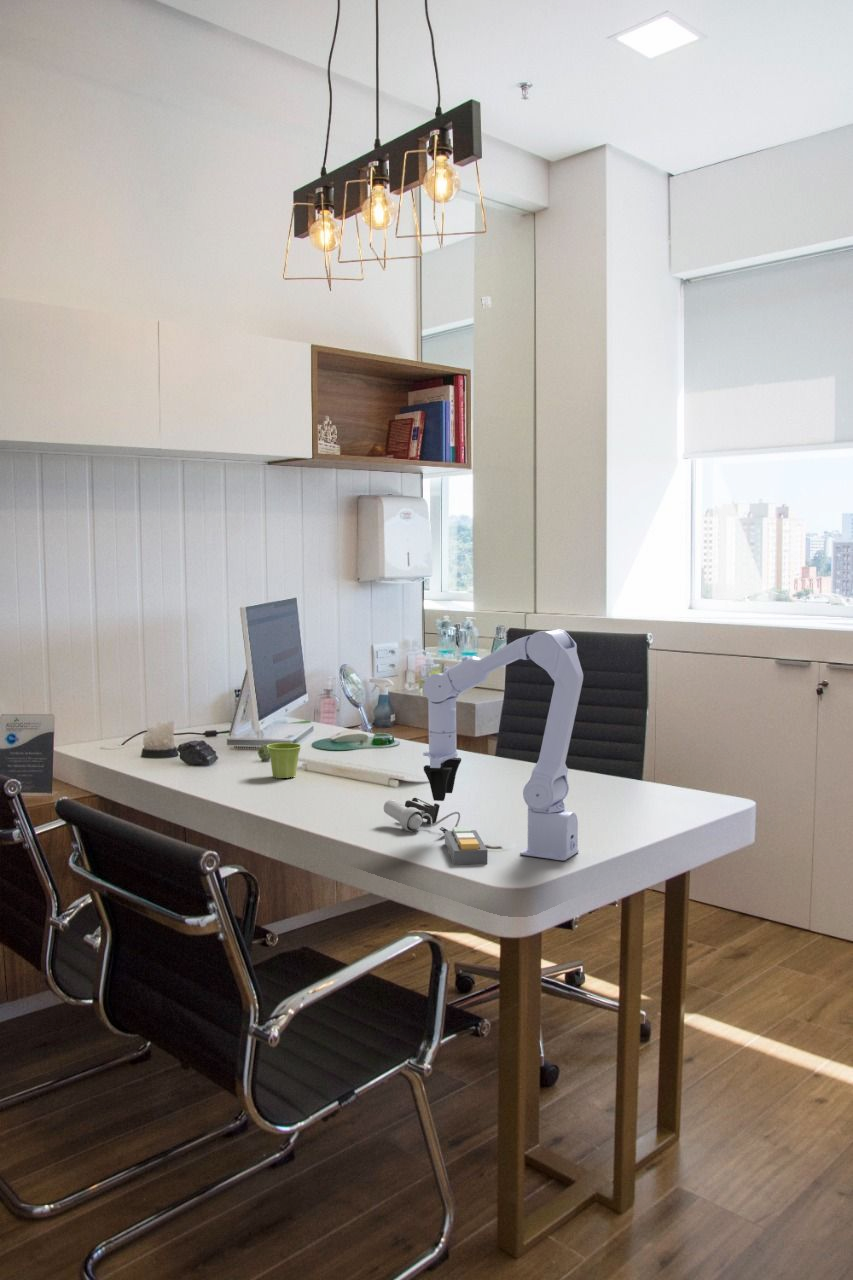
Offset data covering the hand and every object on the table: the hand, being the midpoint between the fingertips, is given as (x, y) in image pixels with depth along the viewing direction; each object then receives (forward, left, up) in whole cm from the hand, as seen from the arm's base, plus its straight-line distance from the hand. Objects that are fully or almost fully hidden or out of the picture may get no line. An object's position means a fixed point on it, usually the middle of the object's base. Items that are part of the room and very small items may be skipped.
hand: (443, 796), depth 217 cm
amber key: (-11, +11, -7) cm, 17 cm away
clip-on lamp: (+8, -7, -10) cm, 15 cm away
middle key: (-9, +7, -7) cm, 13 cm away
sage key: (-6, +2, -7) cm, 10 cm away
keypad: (-9, +7, -9) cm, 14 cm away
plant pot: (+69, -38, -9) cm, 80 cm away
